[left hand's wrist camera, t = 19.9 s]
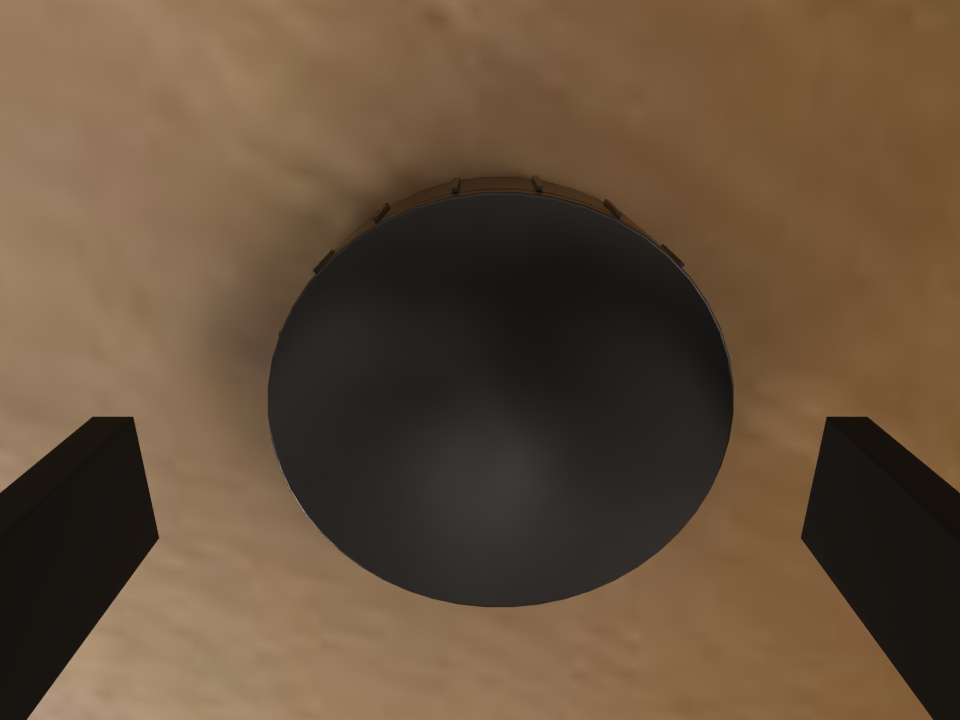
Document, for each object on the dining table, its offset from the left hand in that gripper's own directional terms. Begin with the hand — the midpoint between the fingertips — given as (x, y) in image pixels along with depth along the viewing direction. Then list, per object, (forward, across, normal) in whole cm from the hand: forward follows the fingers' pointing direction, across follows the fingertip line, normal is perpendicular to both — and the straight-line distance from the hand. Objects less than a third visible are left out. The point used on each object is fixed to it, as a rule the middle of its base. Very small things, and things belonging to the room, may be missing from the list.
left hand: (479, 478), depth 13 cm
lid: (+1, 0, +1) cm, 1 cm away
